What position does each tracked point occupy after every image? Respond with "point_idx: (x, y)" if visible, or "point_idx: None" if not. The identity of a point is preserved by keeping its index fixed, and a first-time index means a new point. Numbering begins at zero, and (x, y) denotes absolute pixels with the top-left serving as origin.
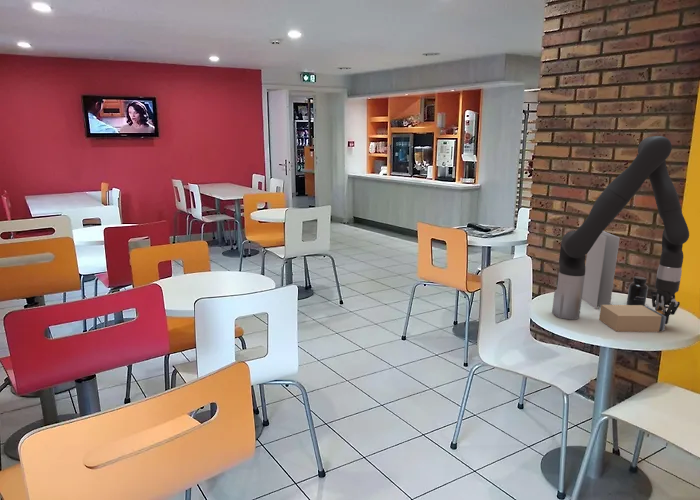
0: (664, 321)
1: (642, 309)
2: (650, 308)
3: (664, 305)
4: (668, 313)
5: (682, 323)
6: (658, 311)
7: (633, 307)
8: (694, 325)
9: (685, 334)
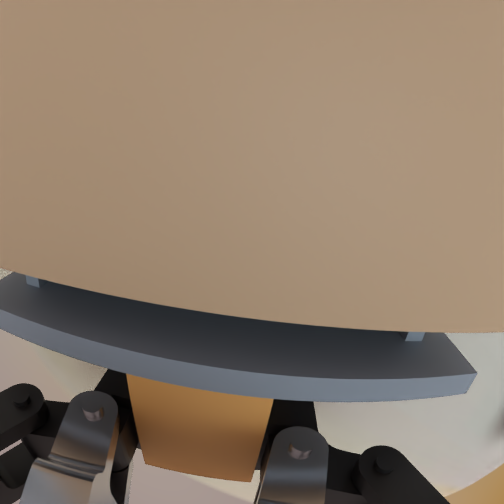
0: (13, 277)
1: (297, 113)
2: (354, 388)
3: (28, 499)
4: (3, 394)
5: (259, 474)
6: (219, 422)
7: (449, 28)
8: (224, 491)
9: (64, 365)
